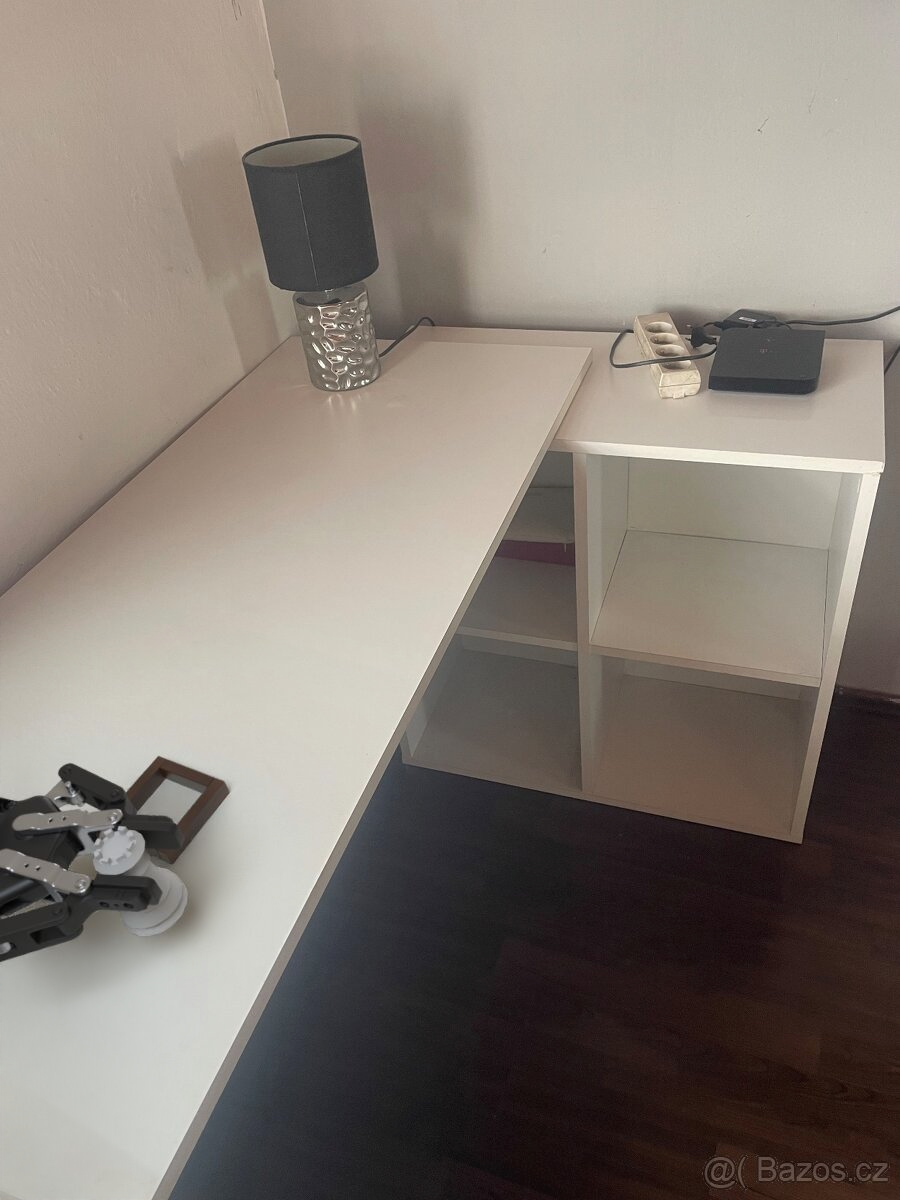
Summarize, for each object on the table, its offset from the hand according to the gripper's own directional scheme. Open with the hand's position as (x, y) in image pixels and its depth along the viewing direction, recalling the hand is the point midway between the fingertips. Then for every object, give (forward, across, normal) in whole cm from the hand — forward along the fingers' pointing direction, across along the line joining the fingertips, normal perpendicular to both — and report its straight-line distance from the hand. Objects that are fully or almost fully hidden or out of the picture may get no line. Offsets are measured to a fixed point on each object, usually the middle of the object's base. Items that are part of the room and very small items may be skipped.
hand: (167, 862), depth 55 cm
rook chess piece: (-3, 0, +6) cm, 7 cm away
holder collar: (-7, +10, +10) cm, 16 cm away
